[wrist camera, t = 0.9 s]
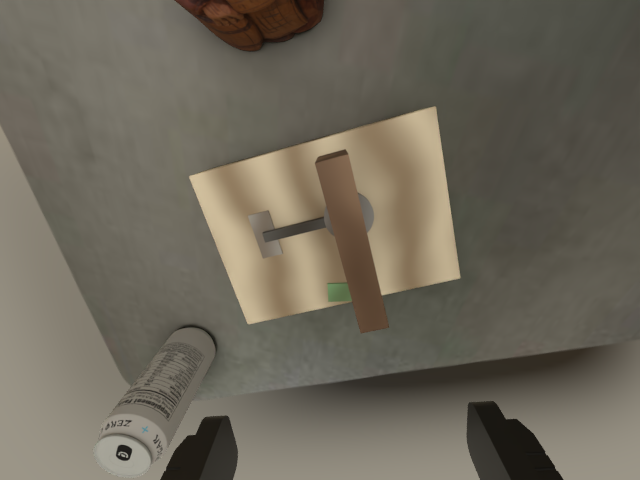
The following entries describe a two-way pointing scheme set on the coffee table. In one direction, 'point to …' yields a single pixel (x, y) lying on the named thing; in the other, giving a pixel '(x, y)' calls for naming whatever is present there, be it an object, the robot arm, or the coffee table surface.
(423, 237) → the wooden lever base
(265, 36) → the wooden figurine
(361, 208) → the peg key
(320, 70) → the coffee table surface
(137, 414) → the energy drink can
